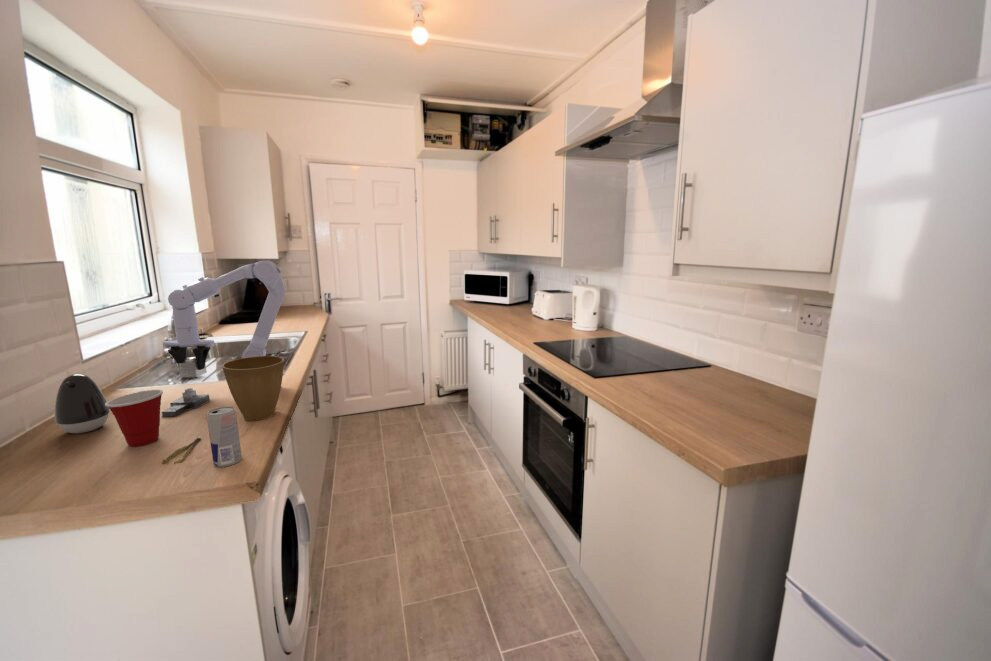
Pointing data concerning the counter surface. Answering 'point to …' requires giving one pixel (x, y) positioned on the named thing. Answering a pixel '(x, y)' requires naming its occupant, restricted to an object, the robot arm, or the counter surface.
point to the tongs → (180, 452)
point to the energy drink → (224, 436)
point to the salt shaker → (188, 354)
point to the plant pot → (255, 384)
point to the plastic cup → (138, 416)
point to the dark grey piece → (185, 403)
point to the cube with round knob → (190, 368)
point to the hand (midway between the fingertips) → (192, 369)
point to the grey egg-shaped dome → (80, 405)
